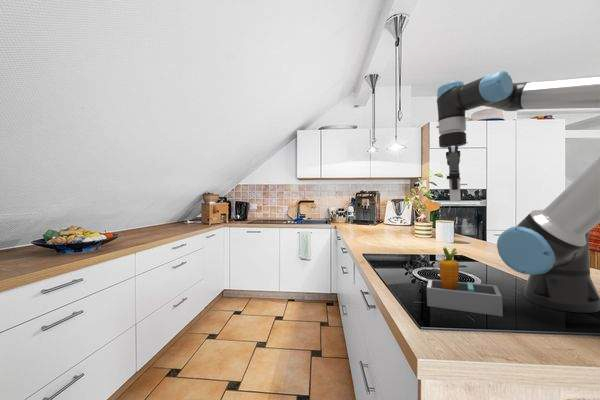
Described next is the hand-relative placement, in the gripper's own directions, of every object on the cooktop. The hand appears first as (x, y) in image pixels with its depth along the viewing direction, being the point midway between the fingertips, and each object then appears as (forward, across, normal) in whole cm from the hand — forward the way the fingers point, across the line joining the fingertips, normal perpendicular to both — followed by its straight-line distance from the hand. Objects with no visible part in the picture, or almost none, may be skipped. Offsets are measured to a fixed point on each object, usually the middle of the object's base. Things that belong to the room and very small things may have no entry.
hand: (455, 200), depth 86 cm
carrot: (+28, +12, -2) cm, 30 cm away
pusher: (+28, +12, +3) cm, 30 cm away
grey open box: (+29, +12, 0) cm, 31 cm away
